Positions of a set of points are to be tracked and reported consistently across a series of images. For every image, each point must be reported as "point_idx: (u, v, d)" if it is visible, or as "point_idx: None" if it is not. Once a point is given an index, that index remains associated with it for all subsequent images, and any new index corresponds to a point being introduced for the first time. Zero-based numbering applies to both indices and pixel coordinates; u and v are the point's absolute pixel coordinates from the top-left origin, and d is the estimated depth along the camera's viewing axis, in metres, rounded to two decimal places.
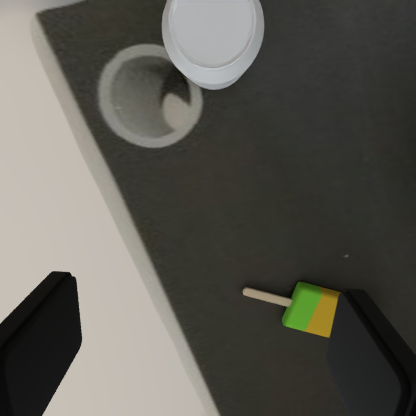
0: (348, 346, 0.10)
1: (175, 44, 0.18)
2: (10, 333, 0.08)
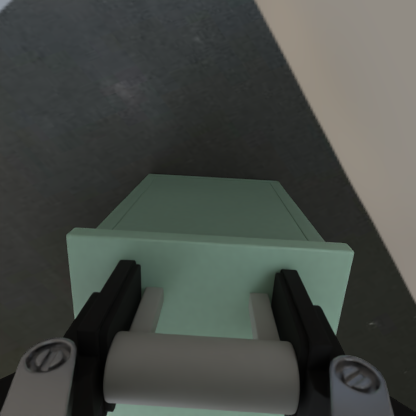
0: (278, 319, 0.11)
1: None
2: (104, 310, 0.09)
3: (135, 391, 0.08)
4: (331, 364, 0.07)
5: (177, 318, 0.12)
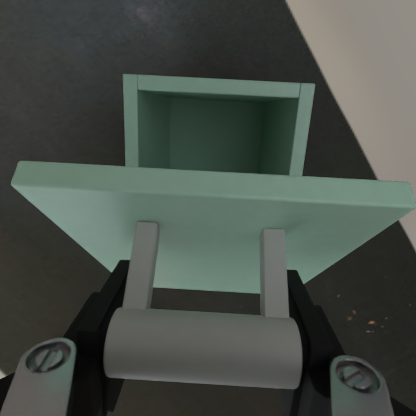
0: None
1: None
2: (104, 310, 0.09)
3: None
4: (331, 364, 0.07)
5: (178, 237, 0.11)
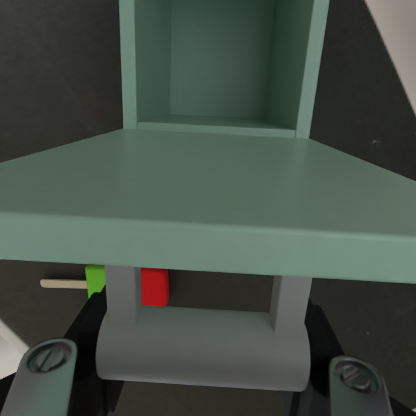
0: None
1: None
2: (105, 310, 0.09)
3: None
4: (330, 364, 0.07)
5: None
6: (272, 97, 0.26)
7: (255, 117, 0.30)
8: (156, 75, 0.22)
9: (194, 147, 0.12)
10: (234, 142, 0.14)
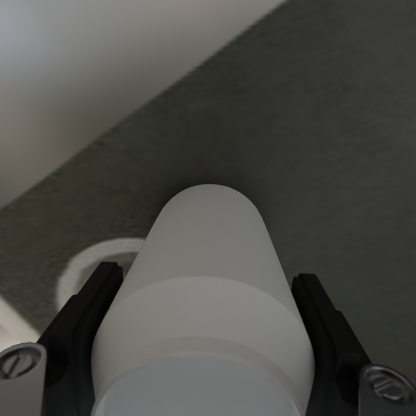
0: None
1: None
2: (79, 314, 0.08)
3: None
4: (361, 373, 0.07)
5: None
6: None
7: None
8: None
9: None
10: None
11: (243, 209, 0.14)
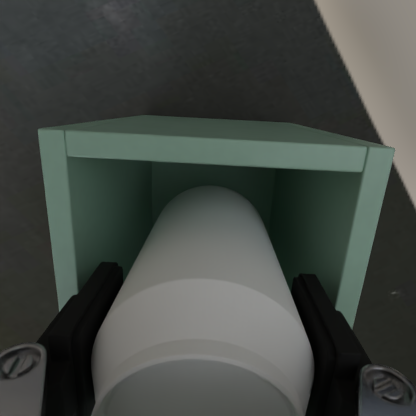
0: None
1: None
2: (79, 314, 0.08)
3: None
4: (361, 373, 0.07)
5: None
6: None
7: None
8: None
9: None
10: None
11: (243, 210, 0.14)
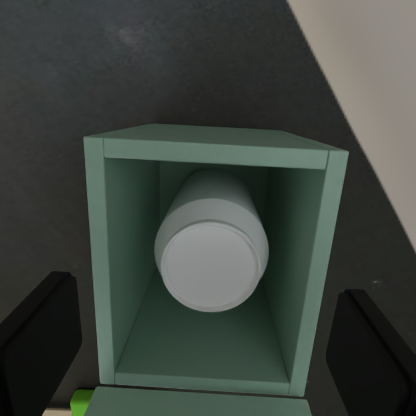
0: (348, 346, 0.10)
1: (175, 296, 0.16)
2: (10, 333, 0.08)
3: None
4: None
5: None
6: None
7: None
8: (140, 266, 0.21)
9: None
10: None
11: (236, 181, 0.22)
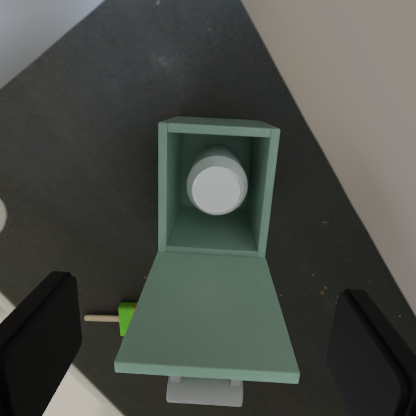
0: (348, 346, 0.10)
1: (198, 206, 0.30)
2: (10, 333, 0.08)
3: None
4: None
5: None
6: (250, 204, 0.39)
7: (240, 207, 0.43)
8: (174, 200, 0.35)
9: (200, 288, 0.25)
10: (220, 274, 0.27)
11: (231, 151, 0.36)
